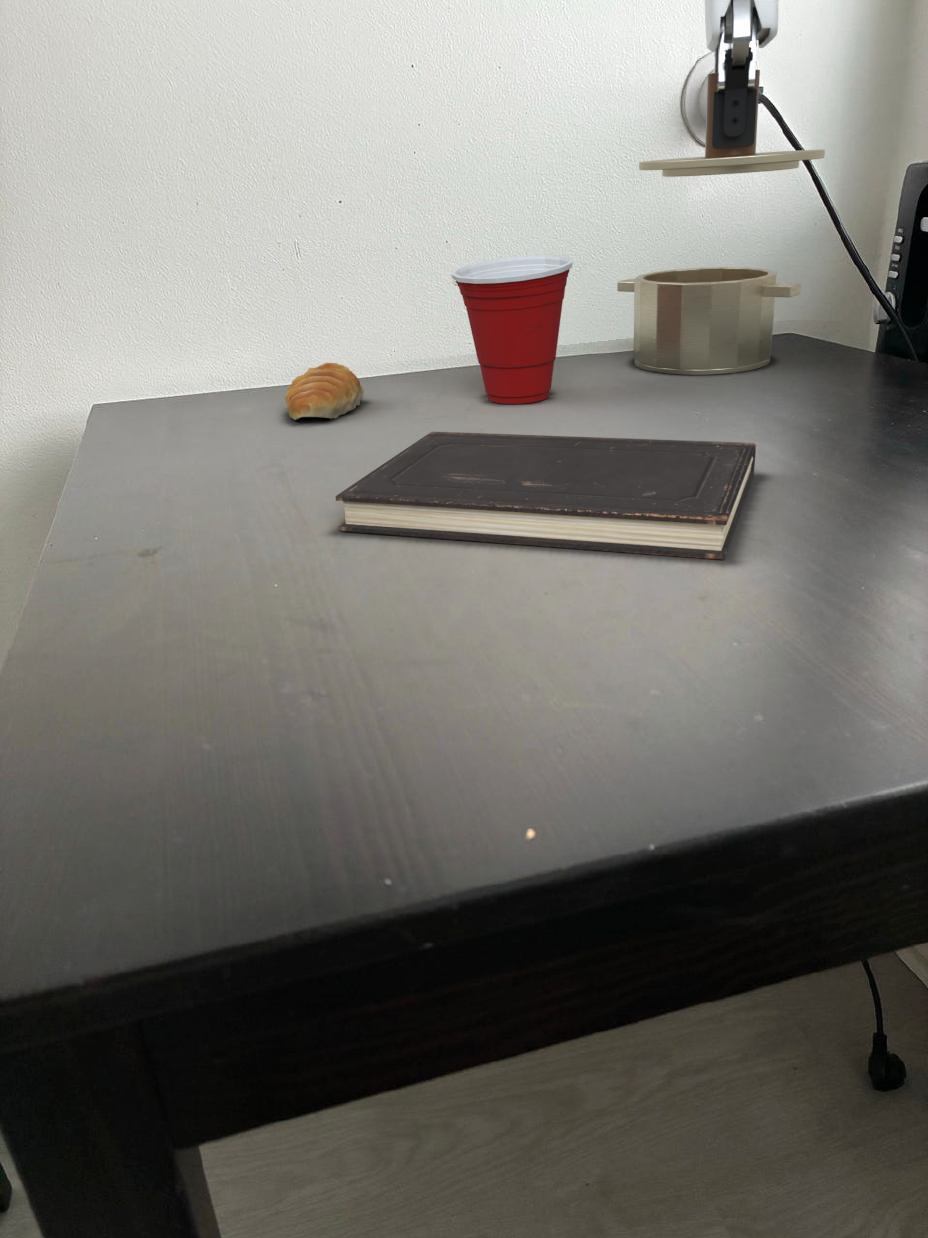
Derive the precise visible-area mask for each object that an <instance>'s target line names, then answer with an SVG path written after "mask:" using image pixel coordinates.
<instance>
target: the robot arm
mask: <svg viewBox="0 0 928 1238" xmlns="http://www.w3.org/2000/svg"><path fill="white" fill-rule="evenodd" d="M704 22H705V39H706V48H707V49H708V51H710V52H711V53H714V54H713V56H714V65H713V66H714V67H713V73H717V72H718V92H714V100H713V128H712V146H713V148H715V149H722V148H736V147H749V146H752V145H753V143H754V136H755V117H756V97H757V89H754V87H755V71H756V70H757V47H758V48H759V49H764V48H765V47H766V46H768V45H769V43H771V42H772V40H774V39H775V38H776V37H777V35H778V30H779V0H704ZM725 73H726V74H725ZM719 91H723V92H719Z"/></svg>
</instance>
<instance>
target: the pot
mask: <svg viewBox="0 0 928 1238" xmlns="http://www.w3.org/2000/svg"><path fill="white" fill-rule="evenodd" d="M777 273H778V271H775V270H771V269H768V268H761V267H760V268H759V267H758V268H757V267H746V266H745V267H741V266H740V267H738V266H719V267H718V266H716V267H692V268H691V267H690V268H678V269H677V268H675V269H668V270H667V269H666V270H660V271H651V272H648V273H643V274H640V275H637V276H636V277H635V278H627V279H623V280H619V281H617V282H616V283H617V287H616V289H617V290H616V291H617V292H625V293H626V292H627V293H634V294H633V306H634V307H633V360H634V365H635V367H637V368H639V369H641V370H645V371H648V372H653V373H659V374H668V375H681V376H682V375H683V376H700V375H701V376H707V375H710V376H711V375H725V374H734V373H741V372H742V373H743V372H748V371H752V370H753V371H754V370H757V369H759V368H760V369H761V368H763V367H765V366H767V365H769V364H770V362H771V356H772V345H773V333H774V332H773V331H774V317H775V316H774V315H775V301H776V298H792V297H795V296H799V295H801V292H802V291H801V290H802V283H801V282H777Z"/></svg>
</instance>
